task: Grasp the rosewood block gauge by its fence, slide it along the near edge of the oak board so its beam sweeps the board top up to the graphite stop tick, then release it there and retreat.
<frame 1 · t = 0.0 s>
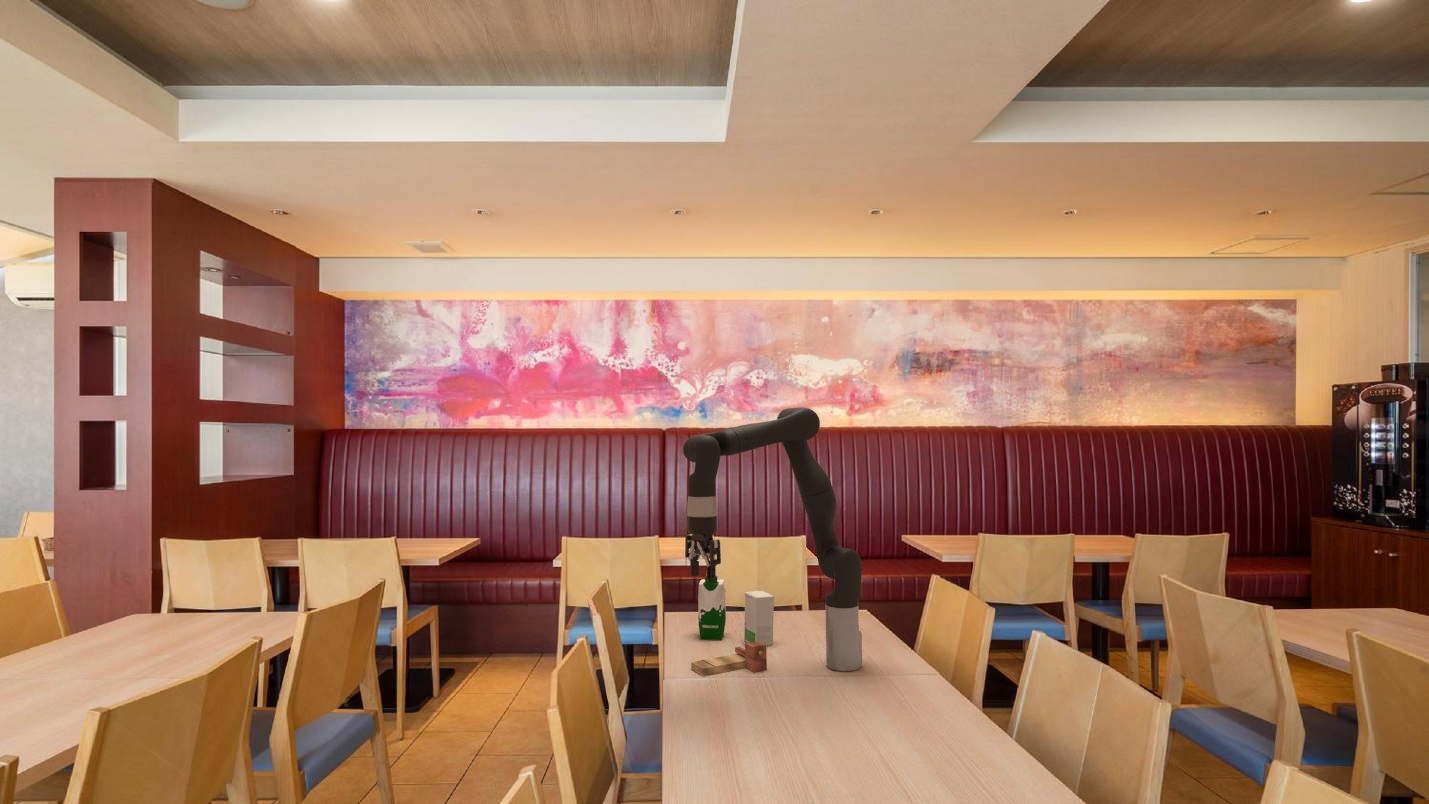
hand: (702, 578, 186), 29 cm above the table, fingers open, 8 cm apart
gauge: (756, 669, 206), on the table
milk carton: (712, 637, 239), on the table
skincare box: (759, 643, 232), on the table
board: (726, 666, 208), on the table
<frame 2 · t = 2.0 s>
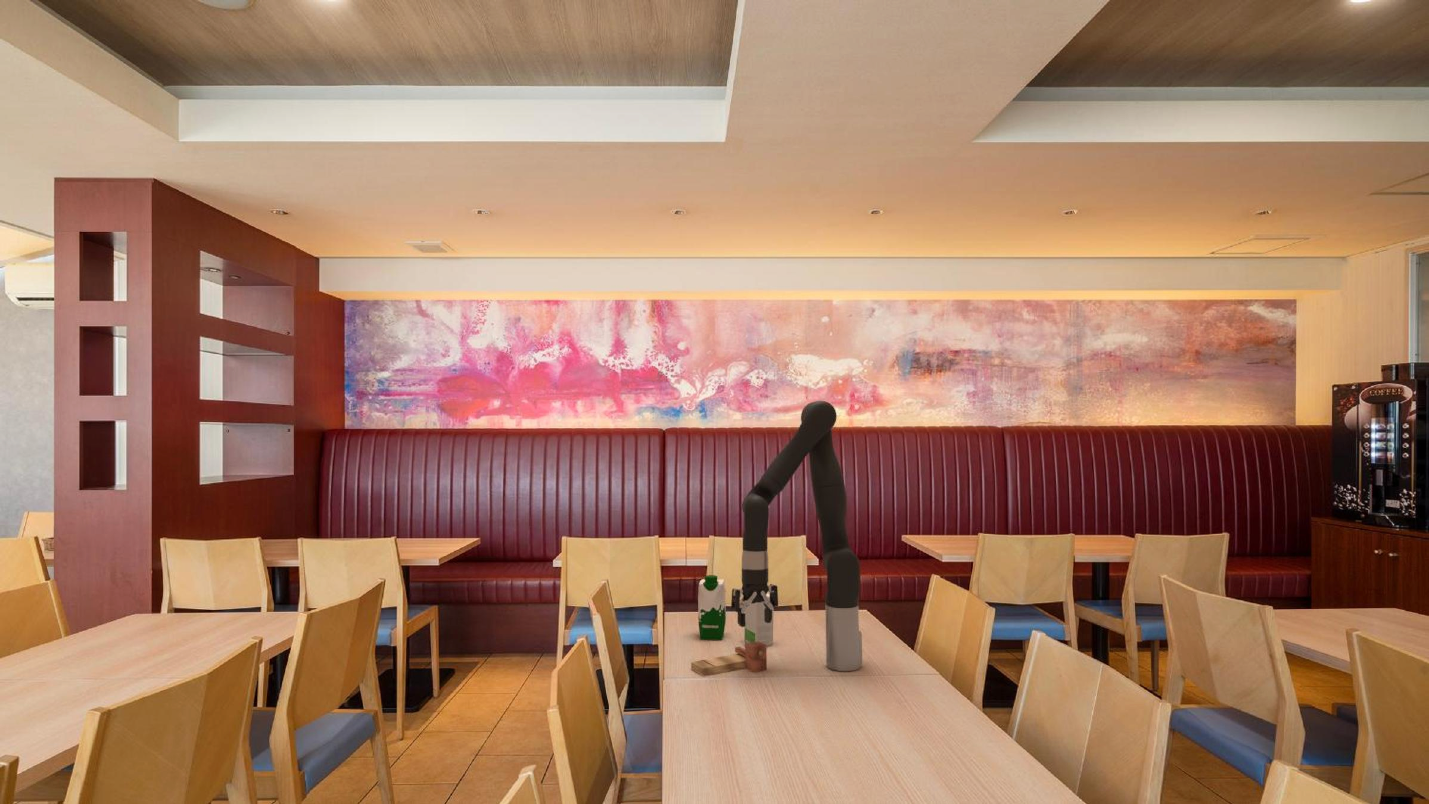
hand: (754, 624, 207), 12 cm above the table, fingers open, 8 cm apart
nothing on the table moved.
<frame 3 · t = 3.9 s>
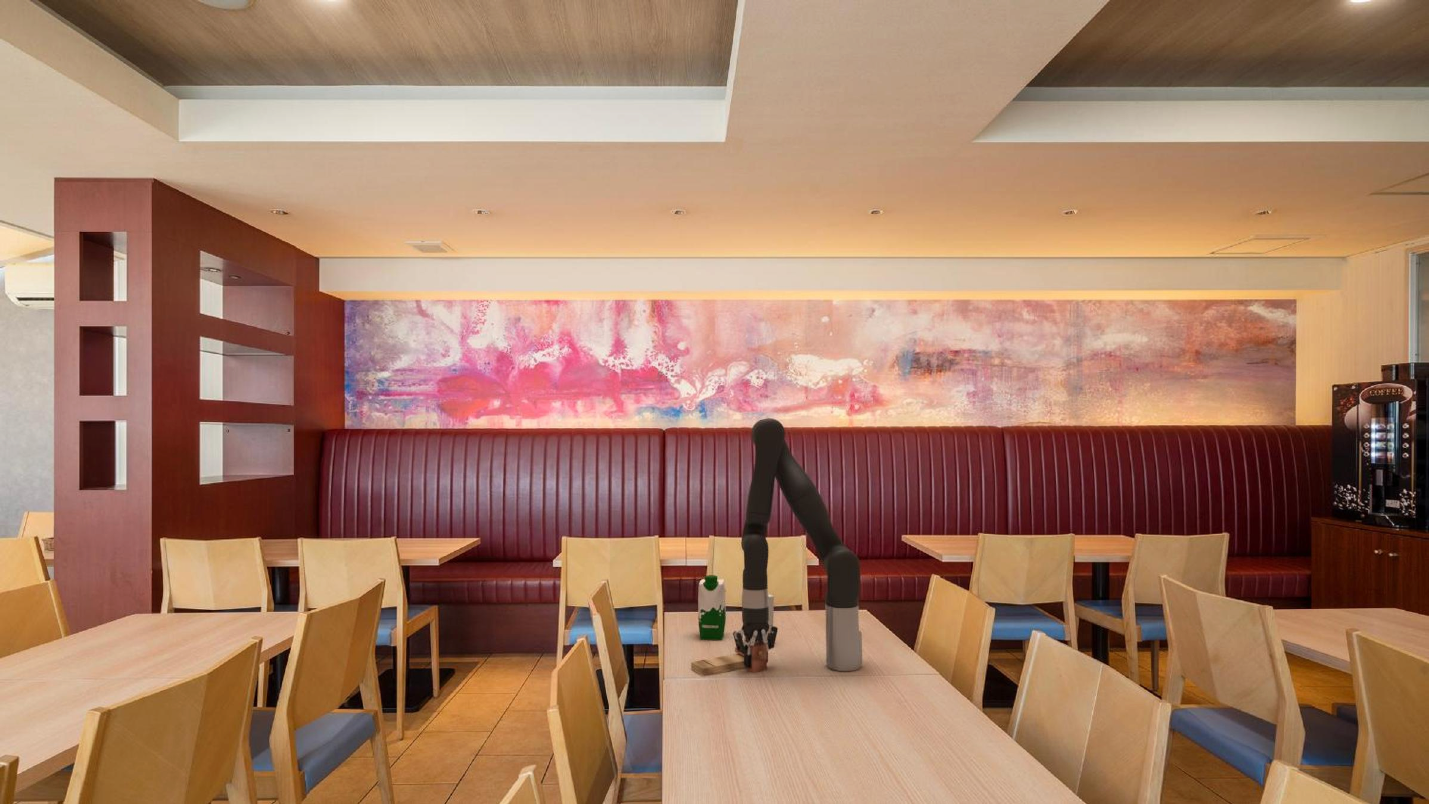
hand: (756, 665, 206), 1 cm above the table, fingers closed on gauge, 4 cm apart
gauge: (756, 669, 206), on the table, touching gripper
everything else where it was.
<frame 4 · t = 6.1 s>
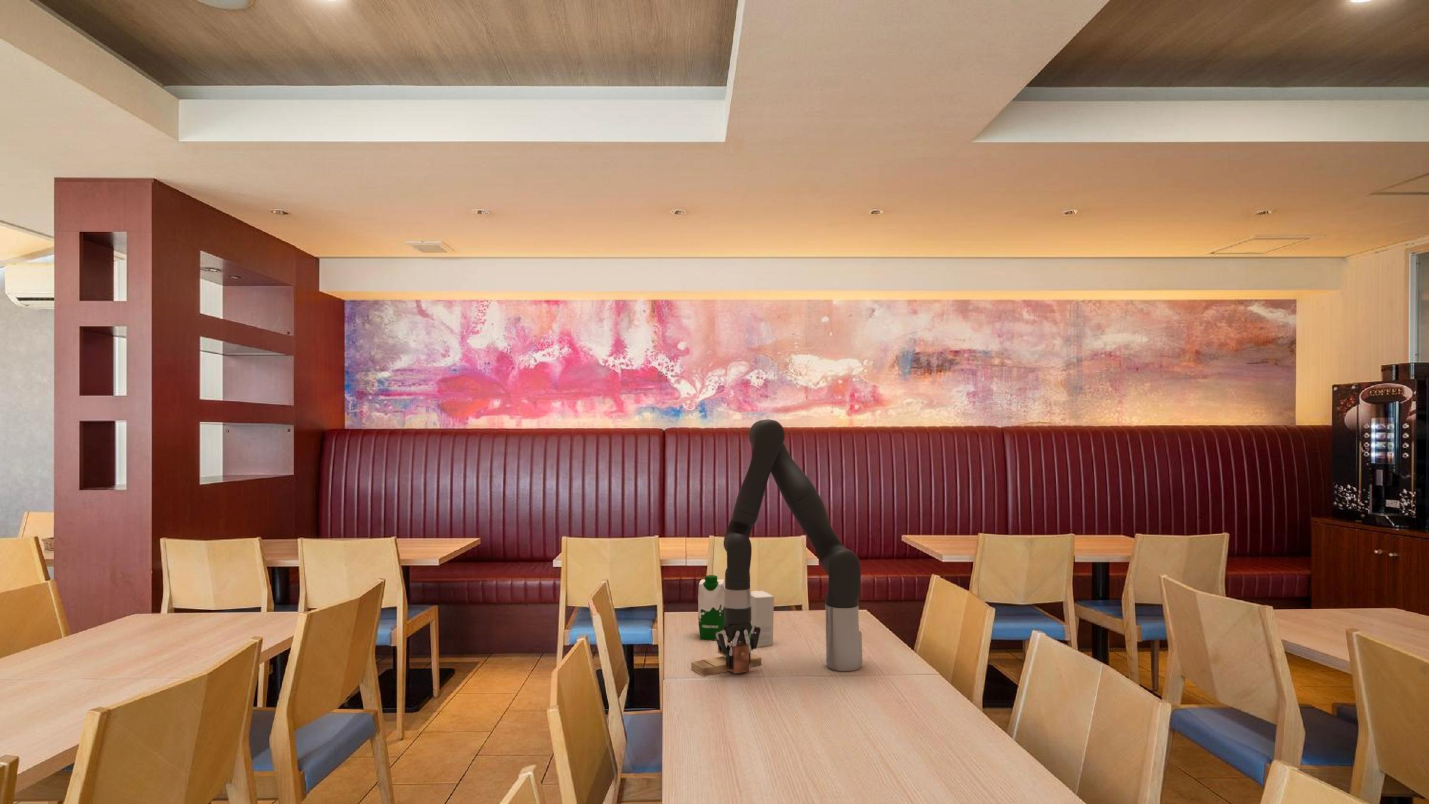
hand: (738, 666, 203), 2 cm above the table, fingers closed on gauge, 4 cm apart
gauge: (738, 670, 203), point 1 cm above the table, touching gripper
everything else where it was.
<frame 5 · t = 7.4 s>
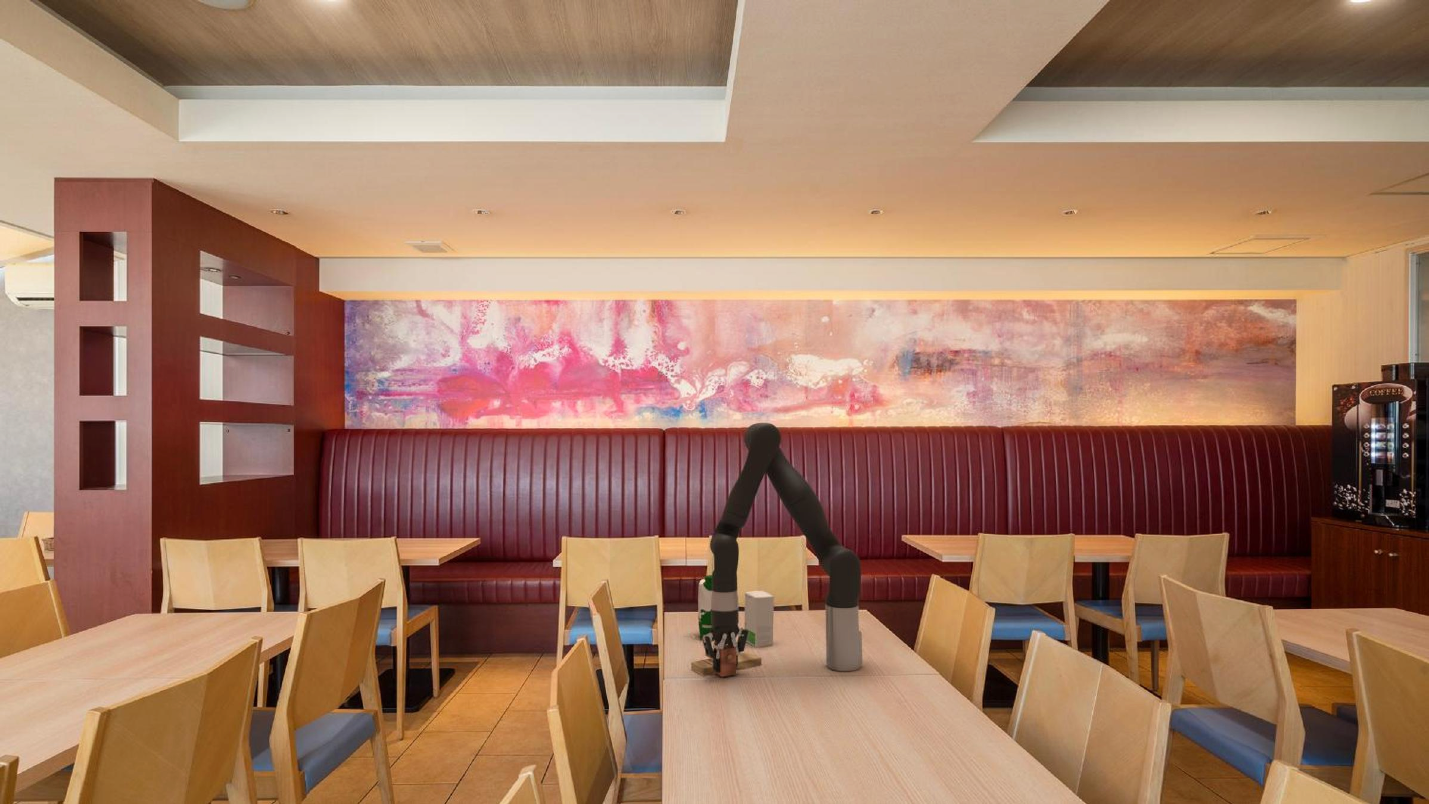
hand: (725, 669, 201), 1 cm above the table, fingers closed on gauge, 4 cm apart
gauge: (725, 673, 201), point 1 cm above the table, touching gripper
everything else where it was.
when the fingers open (1 cm above the table, at t = 8.2 s): gauge stays where it is, on the table.
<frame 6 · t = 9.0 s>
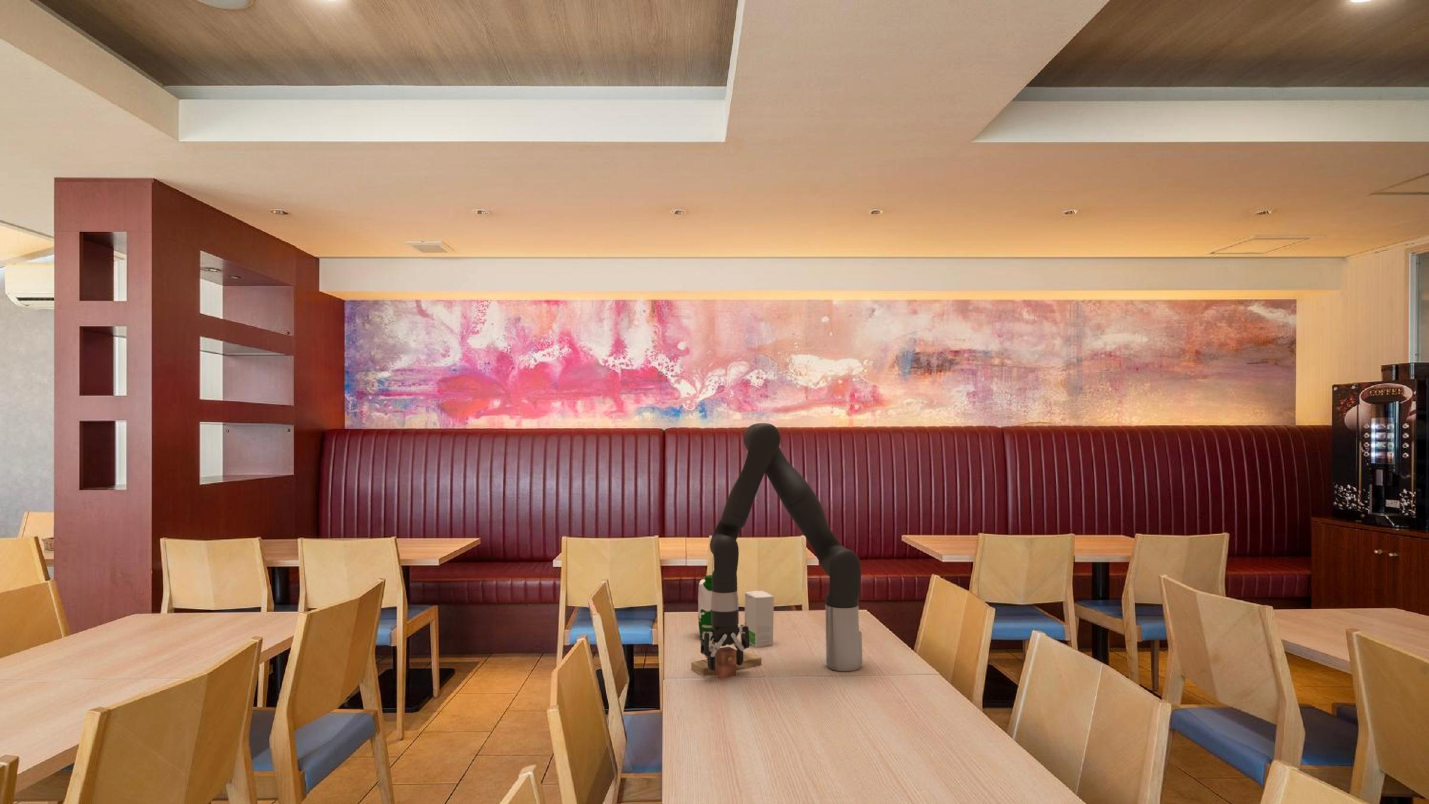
hand: (725, 667, 201), 2 cm above the table, fingers open, 8 cm apart
gauge: (725, 675, 201), on the table
everything else where it was.
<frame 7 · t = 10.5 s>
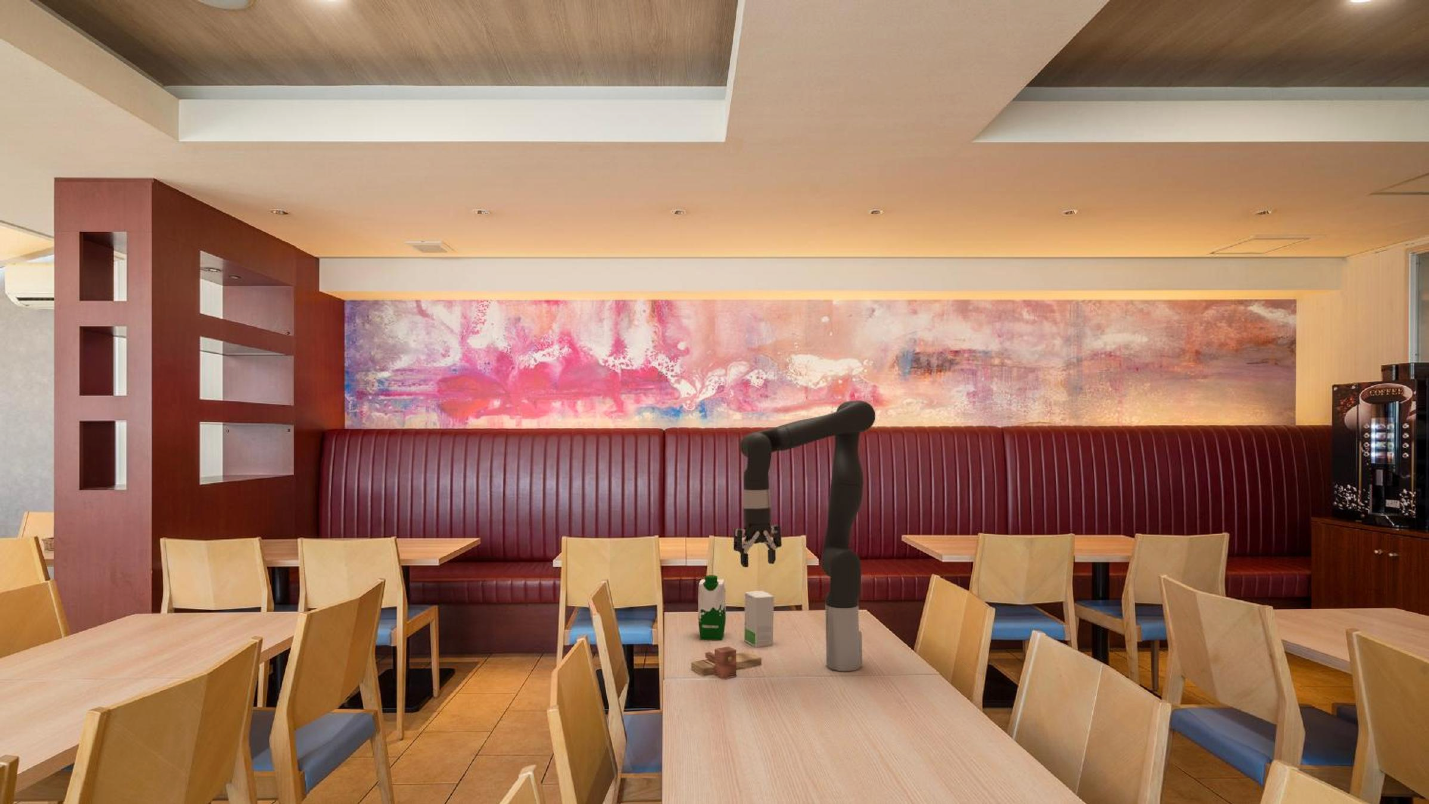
hand: (758, 565, 202), 30 cm above the table, fingers open, 8 cm apart
nothing on the table moved.
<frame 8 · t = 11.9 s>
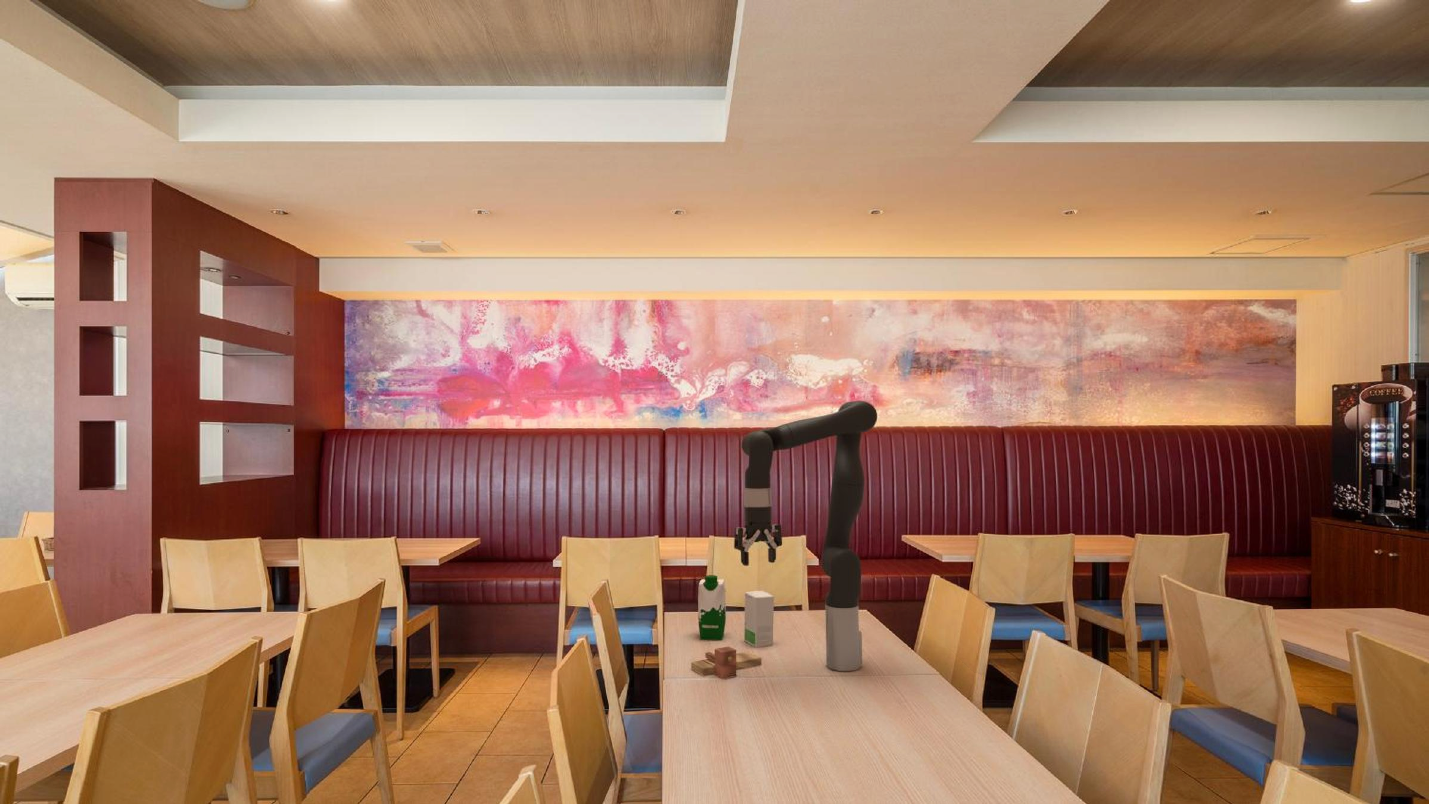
hand: (758, 563, 202), 30 cm above the table, fingers open, 8 cm apart
nothing on the table moved.
at the end: gauge 0.6 cm from the target spot, on the table; gauge tilted 0°; the gripper is holding nothing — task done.
